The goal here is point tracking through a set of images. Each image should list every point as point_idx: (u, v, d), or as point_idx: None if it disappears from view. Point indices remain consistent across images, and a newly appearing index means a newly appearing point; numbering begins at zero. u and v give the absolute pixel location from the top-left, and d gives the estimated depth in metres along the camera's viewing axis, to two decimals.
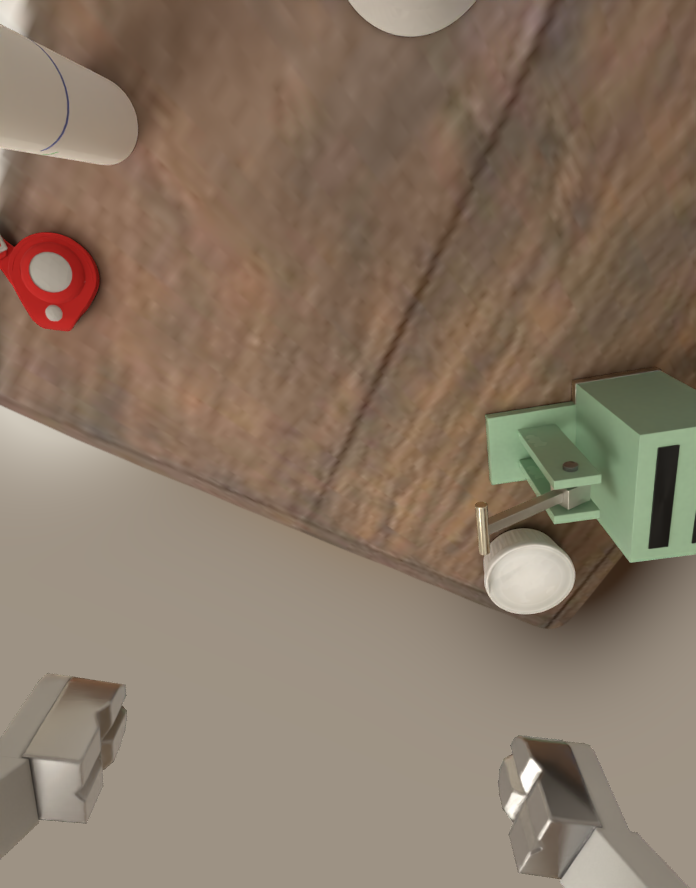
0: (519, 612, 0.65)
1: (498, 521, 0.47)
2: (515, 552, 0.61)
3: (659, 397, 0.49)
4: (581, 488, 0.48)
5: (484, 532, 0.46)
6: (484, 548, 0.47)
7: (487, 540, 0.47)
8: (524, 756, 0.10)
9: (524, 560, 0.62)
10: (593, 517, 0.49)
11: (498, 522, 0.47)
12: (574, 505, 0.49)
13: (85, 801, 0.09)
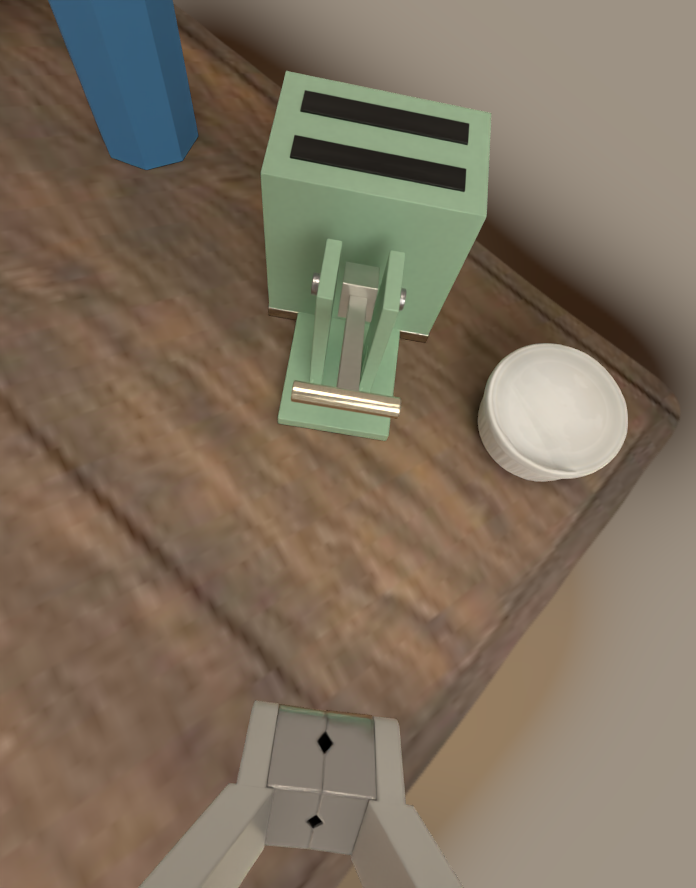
0: (622, 434, 0.38)
1: (340, 372, 0.26)
2: (500, 417, 0.38)
3: None
4: (350, 270, 0.31)
5: (348, 395, 0.24)
6: (384, 403, 0.24)
7: (369, 394, 0.25)
8: (324, 731, 0.10)
9: (518, 407, 0.38)
10: (401, 259, 0.31)
11: (342, 372, 0.26)
12: (375, 282, 0.31)
13: (312, 828, 0.09)
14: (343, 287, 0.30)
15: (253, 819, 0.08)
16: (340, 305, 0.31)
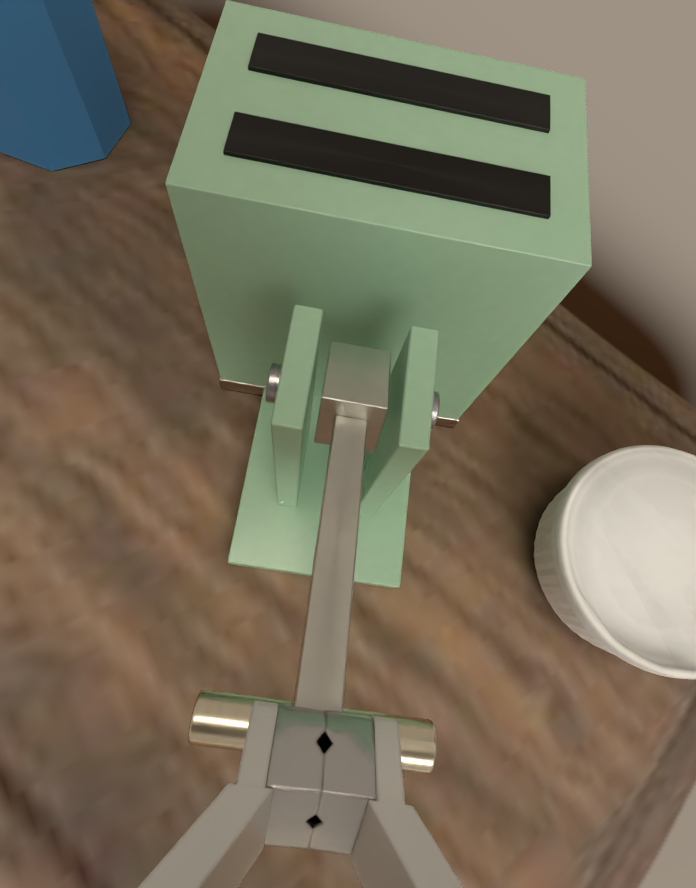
0: None
1: (304, 656, 0.12)
2: (580, 574, 0.24)
3: None
4: (337, 364, 0.17)
5: None
6: None
7: None
8: (323, 731, 0.10)
9: (608, 556, 0.24)
10: (433, 343, 0.17)
11: (308, 656, 0.12)
12: (382, 390, 0.17)
13: (312, 828, 0.09)
14: (323, 404, 0.16)
15: (253, 819, 0.08)
16: (318, 428, 0.17)
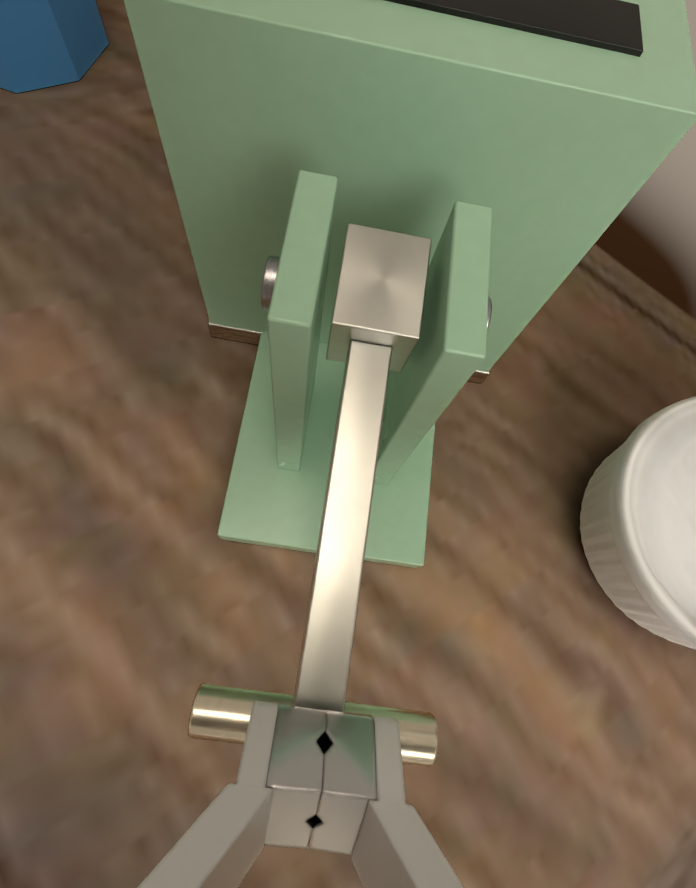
0: None
1: (304, 658, 0.11)
2: (647, 546, 0.19)
3: None
4: (354, 266, 0.12)
5: None
6: None
7: None
8: (324, 730, 0.10)
9: (680, 525, 0.20)
10: (485, 223, 0.13)
11: (308, 659, 0.11)
12: (414, 309, 0.12)
13: (312, 828, 0.09)
14: (333, 329, 0.12)
15: (253, 819, 0.08)
16: (330, 349, 0.14)
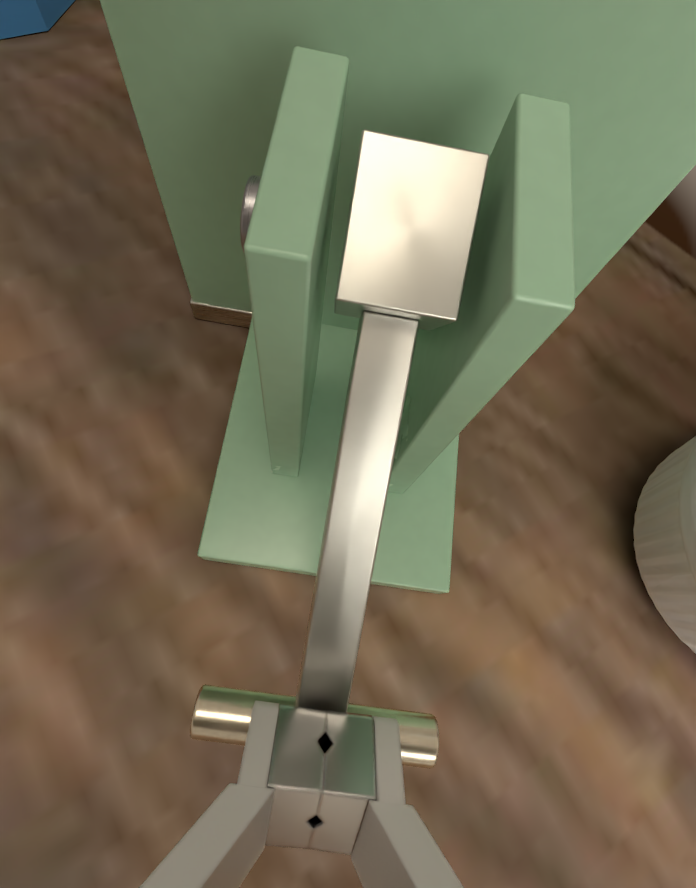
0: None
1: (304, 678, 0.11)
2: None
3: None
4: (370, 207, 0.08)
5: None
6: None
7: None
8: (324, 731, 0.10)
9: None
10: (561, 123, 0.09)
11: (308, 679, 0.11)
12: (454, 275, 0.09)
13: (313, 828, 0.09)
14: (339, 302, 0.09)
15: (254, 819, 0.08)
16: (338, 310, 0.10)
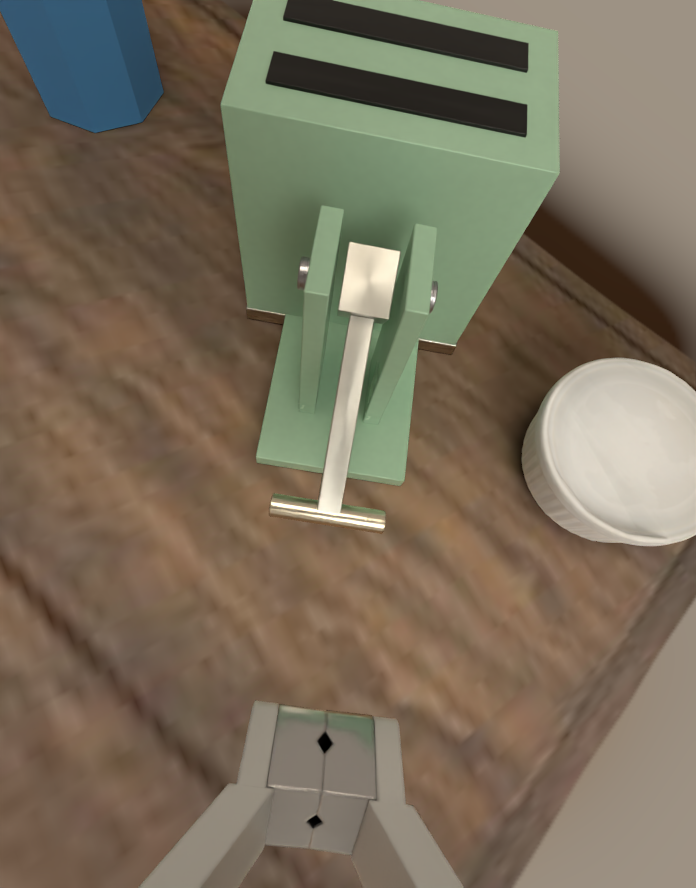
0: None
1: (322, 485, 0.23)
2: (559, 460, 0.28)
3: None
4: (352, 272, 0.21)
5: (328, 520, 0.23)
6: (366, 528, 0.23)
7: (350, 519, 0.23)
8: (324, 731, 0.10)
9: (583, 446, 0.28)
10: (432, 237, 0.21)
11: (324, 485, 0.23)
12: (387, 300, 0.21)
13: (312, 828, 0.09)
14: (339, 311, 0.21)
15: (253, 819, 0.08)
16: (339, 314, 0.22)
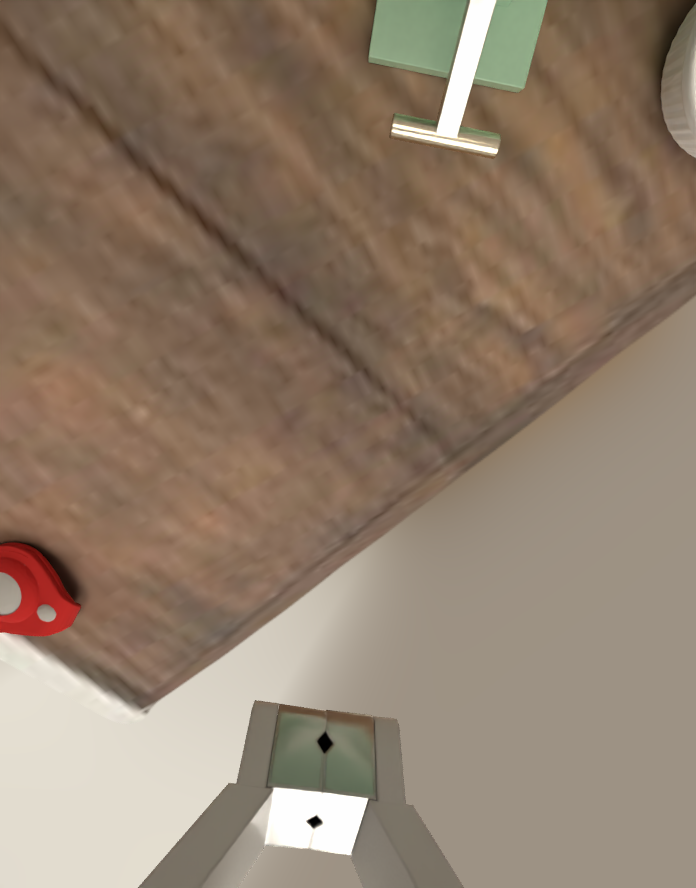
0: None
1: (443, 105, 0.23)
2: None
3: None
4: None
5: (444, 144, 0.25)
6: (479, 153, 0.25)
7: (466, 143, 0.25)
8: (324, 730, 0.10)
9: None
10: None
11: (445, 105, 0.23)
12: None
13: (312, 828, 0.09)
14: None
15: (253, 819, 0.08)
16: None
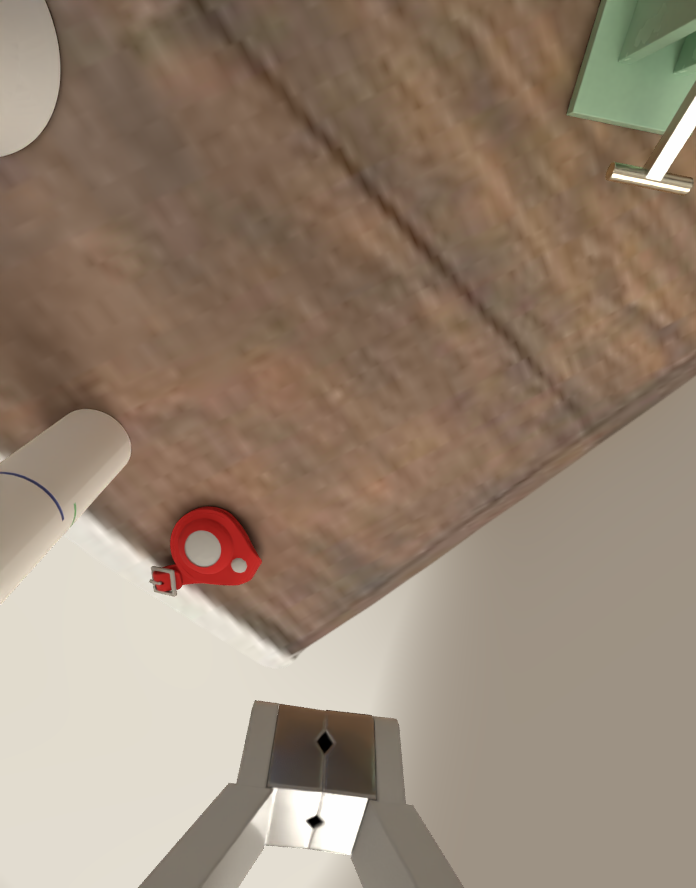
0: None
1: (658, 158, 0.31)
2: None
3: None
4: None
5: (649, 185, 0.33)
6: (674, 192, 0.33)
7: (667, 184, 0.33)
8: (324, 731, 0.10)
9: None
10: None
11: (659, 158, 0.31)
12: None
13: (312, 828, 0.09)
14: None
15: (253, 819, 0.08)
16: None
